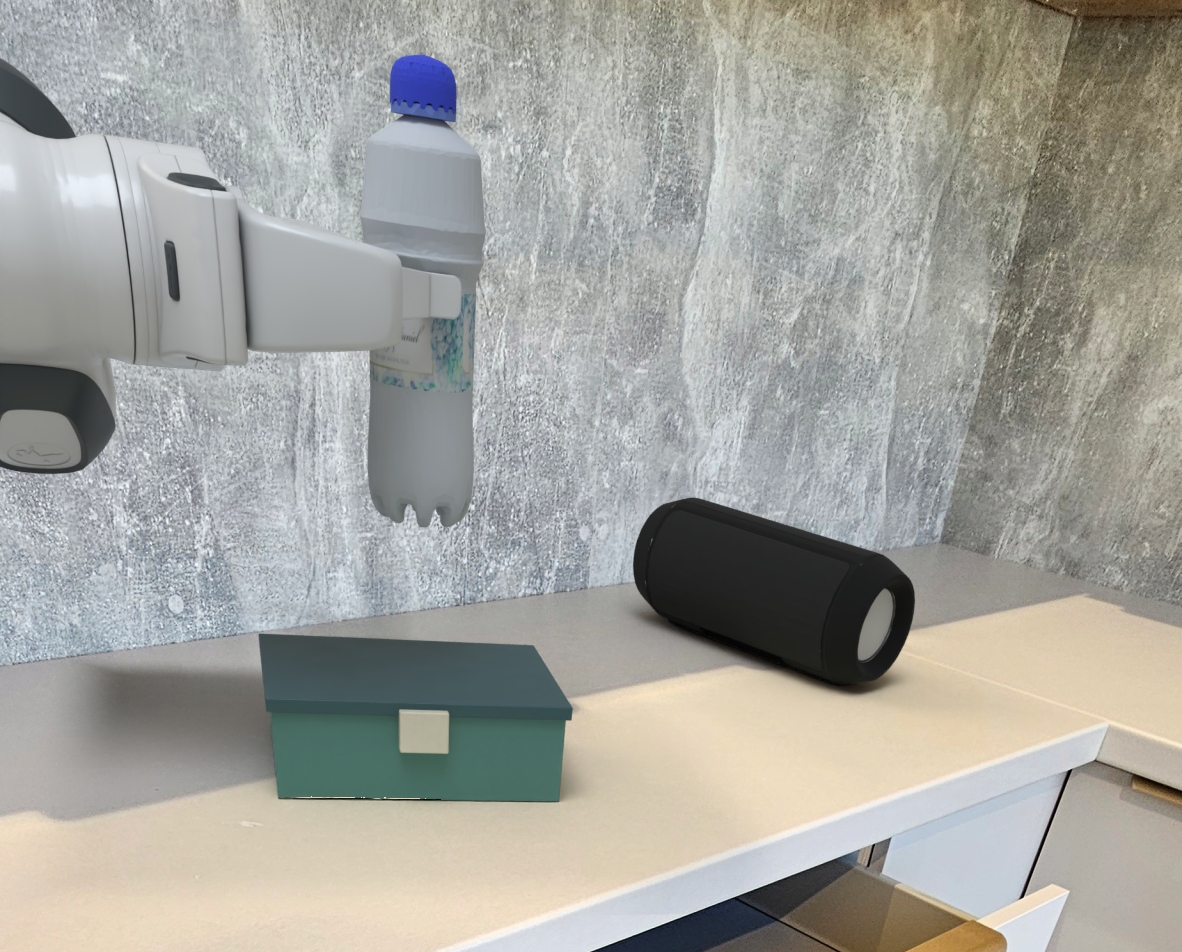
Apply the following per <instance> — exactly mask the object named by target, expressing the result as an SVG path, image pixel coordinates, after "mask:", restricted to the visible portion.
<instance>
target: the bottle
mask: <svg viewBox="0 0 1182 952" xmlns="http://www.w3.org/2000/svg"><path fill="white" fill-rule="evenodd" d="M457 91H458V90H457V81H456V78H455V75H454V72H453V70H452V69H451V68H450V67H449V66H448V65H447V64H446V63H444V62H443V61H441V60H439V59H437V58H435V57H433V56H429V55H426V54H411V55H405V56H401V57H399V58H397V59H396V60H395V61H394V63H393V65H392V66H391V70H390V76H389V105H390V113H393V114H397V115H401V116H400V117H398V118H396V119H394V120H393V121H392V122H390V123H388V124H387V125H386V126H384V127H383V128H381V129H380V130H378V131H376V132H375V133H373V134H372V135H370V136H369V137H368V138H367V140H366V142H365V143H366V144H365V155H364V156H365V157H364V170H363V182H362V183H363V184H362V192H361V193H362V194H361V202H360V203H361V204H360V212H359V220H360V224H361V230H362V242H363V243H366V244H369V245H373V246H376V247H379V248H383V249H385V250H388V251H390V252H392V253H394V254H396V255H397V256H398V257H399V259H400V261H401V265H402V267H405V268H410V269H415V270H419V271H429V272H438V273H445V274H450V275H453V276H456V277H457V278H459V280H460V282H461V285H462V300H461V313H460V315H459V317H458V318H456V319H442V318H431V317H429V318H421V319H412V320H402V338H401V341H400V342H399V343H398V344H397V345H395V346H392V347H388V348H384V349H377V350H369V353H368V354H369V412H368V432H367V478H368V479H367V480H368V491H369V493H370V494H369V495H370V499H371V501H372V504H373V507H374V508H375V509H376V511H377V512H378V513H379V515H380V516H383V517H385V518H389V519H390V520H391V521H392V522H393V523H397V524H403V522H404V521H405V513H406V509H407V507H408V506H409V505H410V506H411V508H412V511H414V513H415V517H416V523H417V525H418V527H420V528H425V529H426V528H428V527H429V526H430V525H431V522H432V518H433V515H434V512H436V514H437V516H439V519H440V524H441V526H442V527H444V528H451V527H453V526H455V525H456V524H457V523H459V522H461V521H463V520H464V518H465V517H466V515H467V514H468V512H469V509H470V506H471V502H472V498H473V488H474V475H475V474H474V469H475V466H474V465H475V464H474V463H475V461H474V459H475V458H474V454H475V453H474V452H475V451H474V420H473V419H474V418H473V414H474V413H473V397H474V395H473V393H474V371H475V370H474V369H475V338H476V312H477V311H476V308H477V285H478V283H477V282H478V279H479V276H480V273H481V272H482V269H483V267H484V261H483V249H484V243H485V238H486V234H487V233H486V225H485V224H486V223H485V208H484V192H483V178H482V159H481V156H480V154H479V153H478V152H477V151H476V149H474V148H473V146H471V145H470V144H469V143H468V142H467V141H466V140H465V139H464V138H463V137H462V136H461V135H460V134H459V133H458V132H457V131H456V130H455V129H453V127H452V126H450V124H448V123H447V122H450V123H457V95H458V92H457Z"/></svg>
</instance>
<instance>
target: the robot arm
mask: <svg viewBox="0 0 1182 952" xmlns="http://www.w3.org/2000/svg"><path fill="white" fill-rule="evenodd" d="M461 300H462V285H461V282H460V280H459V278H457V277H456V276H453V275H450V274H445V273H438V272H429V271H419V270H415V269H410V268H405V267H402V265H401V261H400V259H399V257H398V256H397V255H396V254H394V253H392V252H390V251H388V250H385V249H383V248H379V247H376V246H373V245H369V244H366V243H363V241H360V240H357V239H355V238H352V237H349V236H347V235H345V234H341V233H338V232H335V231H333V230H331V229H328V228H325V227H322V226H319V225H316V224H313V223H311V222H309V221H305V220H302V219H296V218H291V217H282V216H273V215H269V214H266V213H263V212H261V211H260V210H257V209H255V208H254V207H253V206H251V205H250V204H249V203H248V202H246V198H245V197H244V193H243V192H242V190H241V189H240V188H239V187H238V186H235V185H228V184H225V185H224V184H223V183H222V182H221V181H220V178H218V176H217V175H216V174H215V173H214V171H213V170H212V168H211V165H210V163H209V160H208V158H207V155H206V154H205V152H204V150H202V149H201V148H200V147H197V146H196V147H195V146H189V145H181V144H175V143H167V142H159V141H153V140H147V139H140V138H134V137H133V138H132V137H125V136H119V135H117V136H116V135H112V134H111V135H110V134H109V135H108V134H103V133H87V134H82V135H80V136H77V135H76V133H75V131H74V129H73V128H72V126H71V124H70V123H69V122H68V120H67V118H66V117H65V116H64V115H63V113H62V112H61V111H60V109H58V108H57V106H56V105H55V104H54V103H53V102H52V100H50V98H49V97H48V96H47V95H46V94H45V93H44V92H43V91H42V90H41V89H40V88H39V87H38V86H37V84H36V83H34V82H33V81H32V80H31V79H29V77H27V76H26V75H25V74H24V73H22V72H21V71H20V70H19V69H18V68H16V67H15V66H13V64H10V63H9V62H7V61H6V60H4V59H3V58H1V57H0V468H2V469H5V470H9V471H14V472H19V473H26V474H27V473H28V474H40V475H61V474H64V475H65V474H72V473H77V472H80V471H82V470H84V469H86V468H87V467H88V466H89V465H90V464H91V463H93V461H95V460H96V458H98V456H99V455H100V454H101V453H102V452H103V451H104V449H106V447H107V445H108V444H109V442H110V441H111V439H112V437H113V435H114V434H115V431H116V427H117V425H116V412H117V394H116V393H117V392H116V386H115V381H114V380H115V379H114V374H113V369H112V362H111V359H112V360H115V361H119V362H122V363H125V364H128V365H131V366H132V365H133V366H142V367H143V366H145V367H154V368H155V367H156V368H168V369H182V370H195V371H209V372H222V371H223V370H224V369H225V366H237V367H242V366H243V367H244V366H246V365H247V364H248V363H249V351H251V352H259V353H270V354H271V353H272V354H273V353H274V354H277V353H278V354H285V353H286V354H295V353H306V354H307V353H341V352H343V353H344V352H367V351H369V350H377V349H384V348H388V347H392V346H395V345H397V344H398V343H399V342H400V341H401V338H402V320H412V319H421V318H429V317H431V318H442V319H456V318H458V317H459V315H460V313H461Z"/></svg>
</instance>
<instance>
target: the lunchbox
mask: <svg viewBox="0 0 1182 952" xmlns="http://www.w3.org/2000/svg"><path fill="white" fill-rule="evenodd" d="M258 646H259V654H260V655H259V656H260V657H259V658H260V668H261V675H262V683H263V684H262V685H263V694H264V704H265V705H264V706H265V712H266V713H269V727H270V736H271V746H272V755H273V764H274V772H275V773H274V774H275V782H276V794H277V798H278V797H311V796H312V797H355V798H361V797H362V798H363V797H365V798H384V797H386V798H420V799H425V798H426V799H441V800H440V801H470V802H471V801H475V802H476V801H477V802H479V801H481V802H483V801H484V802H487V801H488V802H560V794H561V785H562V784H561V783H562V770H563V761H564V759H563V758H564V747H565V745H564V744H565V738H566V737H565V735H566V724H567V721H569V722H570V721H572V719H573V709H574V708H573V707H572V705H571V703H570V701H569V700H568V698H567V697H566V694H565V693H564V692H563V690H562V689H561V687H560V685H559V684H558V682H557V680H556V679H555V677H554V676H553V674H552V672H551V671H550V669H549V667H548V666H547V664H546V663H545V661H544V660H543V658H542V656H541V655H540V653H539V652H538V650H537V648H536V647H535V645H533V644H517V643H515V644H514V643H491V642H471V641H469V642H468V641H467V642H466V641H446V640H445V641H443V640H423V639H421V640H419V639H401V638H400V639H399V638H398V639H397V638H395V639H394V638H373V637H371V638H370V637H353V636H352V637H350V636H330V635H329V636H328V635H327V636H326V635H306V634H303V635H302V634H281V633H279V634H278V633H258Z"/></svg>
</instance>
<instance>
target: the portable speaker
mask: <svg viewBox="0 0 1182 952" xmlns="http://www.w3.org/2000/svg"><path fill="white" fill-rule="evenodd" d="M632 558H633V560H632V574H633V579H634V585H635V586H636V590H637V591H638V592H639V595H640V596H641V597H642V598H643V599H644V601H645V602H646V603H647V604H648V605H649V606H650V607H651V608H652V610H653V611H654V612H655V613H657V615H658V616H660V617H661V618H664V619H666V620H667V622H669V623H670V624H673V625H674V626H677V627H680V628H683V629H685V630H687V631H691V632H693V633H696V634H698V635H701V636H703V637H706V638H709V639H712V640H714V641H717V642H719V643H722V644H723V645H724V644H725V645H727V646H730V647H732V648H735V649H738V650H740V651H743V652H745V653H748V654H751V655H753V656H756V657H759V658H761V659H764V660H766V661H770V662H771V663H775V664H777V665H780V666H783V667H785V668H787V669H790V670H794V671H796V672H798V673H801V674H804V675H806V676H810V677H812V678H814V679H817V680H819V681H822V682H826V683H829V684H832V685H835V686H843V685H849V684H859V683H869V682H870V683H871V682H874V681H876V680H878V679H880V678H881V677H883V676H884V675H886V673H887V672H888V671H889V670H890V668H891V667H892V666H893V664H894V663H895V662H896V661H897V659H898V658H899V655H900V654H901V652H902V650H903V648H904V646H905V645H906V642H907V639H908V637H909V634H910V631H911V627H912V623H913V620H914V615H915V605H916V592H915V588H914V585H913V582H912V580H911V578H910V577H909V576H908V575H907V574H906V573H905V572H904V571H903V570H902V569H901V568H900V567H899V566H898V565H897V564H896V563H895V562H893V560H891V559H890V558H889V557H887V556H886V555H884V554H882V553H879V552H877V551H874V550H871V549H867V548H864V547H860V546H857V545H853V544H851V543H847V542H844V541H841V540H837V539H834V538H830V537H827V536H825V535H821V534H817V533H814V532H811V531H808V530H804V529H801V528H798V527H795V526H792V525H788V524H785V523H782V522H779V521H776V520H771V519H768V518H766V517H762V516H759V515H756V514H752V513H749V512H745V511H742V510H740V509H736V508H733V507H730V506H726V505H724V504H720V503H716V502H713V501H710V500H706V499H703V498H699V497H686V498H680V499H678V500H677V499H676V500H674V501H673V500H672V501H669V502H665V503H662V504H661V505H659V506H658V507H656V508H655V509H654V510H653V511H652V512H651V513H650V514H649V515H648V517H647V518H646V520H645V522H644V523H643V525H642V526H641V529H640V531H639V534H638V536H637V539H636V542H635V548H634V551H633V557H632Z"/></svg>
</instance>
